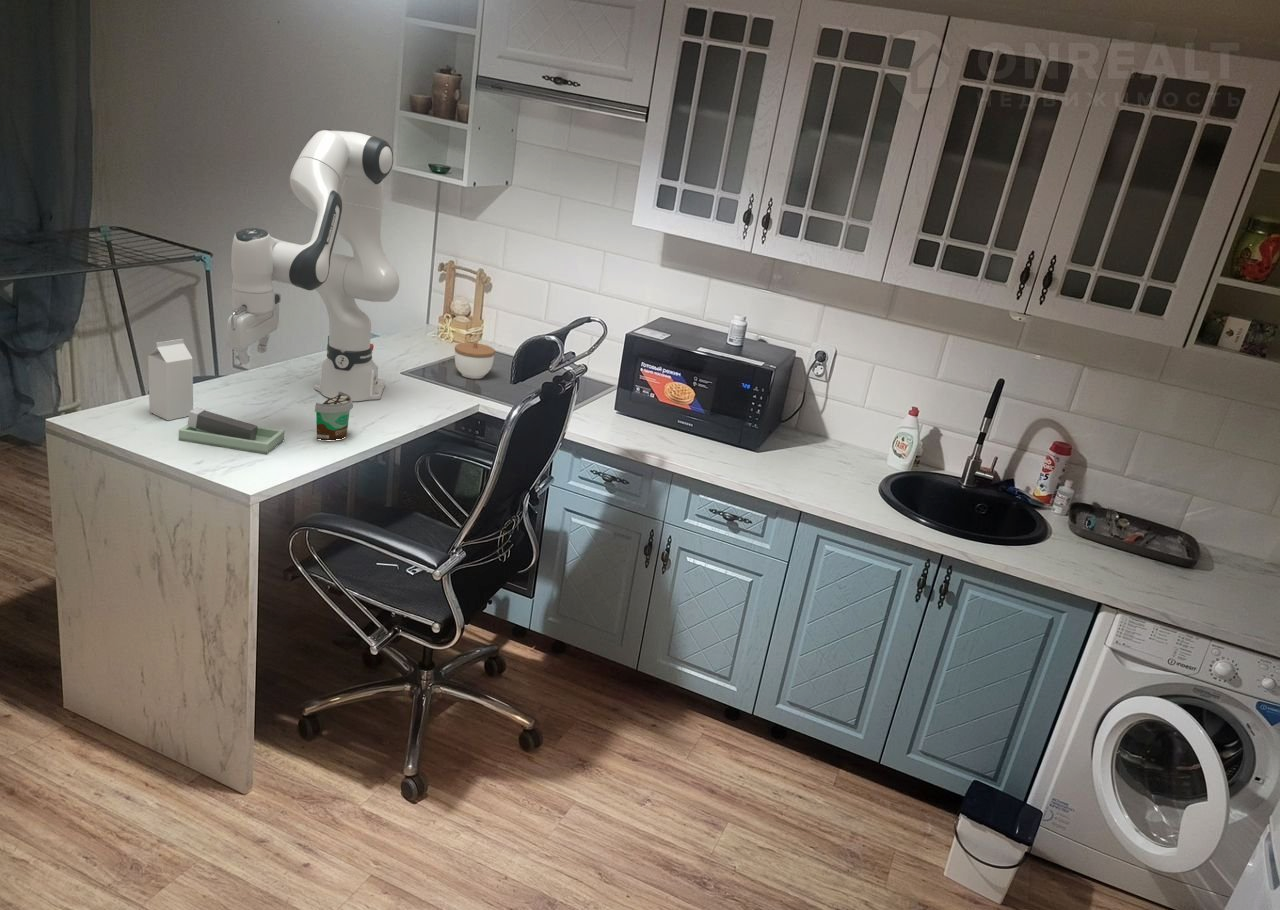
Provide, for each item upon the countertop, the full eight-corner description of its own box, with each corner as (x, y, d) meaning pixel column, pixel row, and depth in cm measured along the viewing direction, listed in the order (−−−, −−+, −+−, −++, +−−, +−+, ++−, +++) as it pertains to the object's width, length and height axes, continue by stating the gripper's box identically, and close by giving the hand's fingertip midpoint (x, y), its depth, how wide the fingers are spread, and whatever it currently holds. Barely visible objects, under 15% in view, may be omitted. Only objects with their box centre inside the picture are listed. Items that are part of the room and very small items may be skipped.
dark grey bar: (255, 438, 230) (258, 424, 229) (249, 443, 226) (251, 429, 225) (195, 421, 229) (197, 407, 228) (187, 426, 226) (189, 411, 225)
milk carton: (193, 415, 239) (192, 342, 233) (167, 421, 233) (165, 346, 227) (175, 407, 242) (174, 335, 236) (149, 413, 236) (147, 339, 230)
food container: (336, 447, 235) (338, 408, 231) (313, 441, 235) (315, 403, 232) (360, 432, 246) (362, 395, 242) (338, 427, 247) (339, 390, 243)
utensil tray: (199, 426, 233) (199, 417, 232) (284, 440, 233) (284, 430, 232) (178, 440, 224) (178, 430, 223) (267, 454, 224) (267, 444, 223)
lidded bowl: (445, 371, 306) (447, 337, 303) (478, 368, 315) (481, 336, 311) (466, 383, 298) (469, 348, 294) (499, 379, 307) (503, 346, 303)
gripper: (246, 313, 211) (247, 372, 216) (284, 293, 230) (284, 348, 235) (217, 309, 211) (219, 368, 216) (258, 289, 230) (258, 344, 235)
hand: (253, 357), depth 226 cm, fingers open, 8 cm apart
